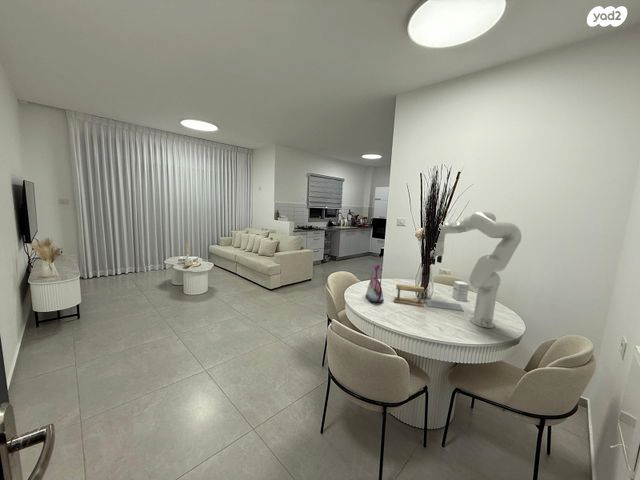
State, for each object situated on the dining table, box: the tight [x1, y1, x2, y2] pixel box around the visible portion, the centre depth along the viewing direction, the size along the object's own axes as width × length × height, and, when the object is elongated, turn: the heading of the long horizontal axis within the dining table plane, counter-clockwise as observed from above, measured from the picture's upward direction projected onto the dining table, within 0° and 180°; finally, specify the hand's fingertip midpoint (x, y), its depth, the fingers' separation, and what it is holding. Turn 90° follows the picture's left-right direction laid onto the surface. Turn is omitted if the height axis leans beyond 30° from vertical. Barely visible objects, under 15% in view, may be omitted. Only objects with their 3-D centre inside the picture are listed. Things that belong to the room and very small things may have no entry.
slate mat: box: [425, 299, 465, 312], centre depth 182 cm, size 12×22×1 cm, turn 73°
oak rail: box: [395, 283, 425, 294], centre depth 184 cm, size 3×18×3 cm, turn 73°
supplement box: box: [451, 280, 470, 302], centre depth 195 cm, size 7×7×13 cm
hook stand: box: [393, 287, 425, 308], centre depth 185 cm, size 10×19×10 cm, turn 73°
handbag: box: [365, 264, 385, 303], centre depth 187 cm, size 21×10×25 cm, turn 7°
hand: (435, 263), depth 188 cm, fingers open, 9 cm apart
